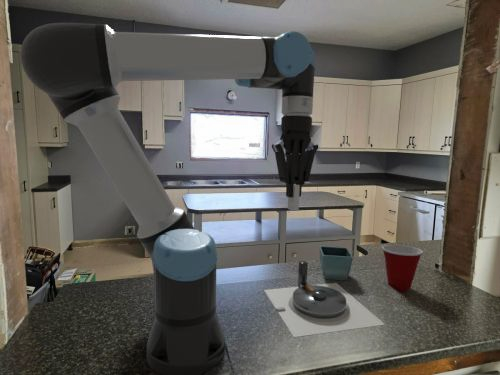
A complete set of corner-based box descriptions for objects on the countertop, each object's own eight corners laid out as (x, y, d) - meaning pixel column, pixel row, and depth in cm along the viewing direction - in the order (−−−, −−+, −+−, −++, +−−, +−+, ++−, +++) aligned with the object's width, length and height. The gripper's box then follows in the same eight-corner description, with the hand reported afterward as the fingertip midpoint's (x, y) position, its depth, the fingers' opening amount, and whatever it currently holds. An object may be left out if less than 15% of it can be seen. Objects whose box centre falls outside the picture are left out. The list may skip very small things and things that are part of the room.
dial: (356, 313, 77) (359, 283, 76) (307, 322, 73) (309, 290, 72) (320, 284, 93) (322, 258, 91) (278, 289, 88) (279, 263, 87)
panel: (293, 342, 68) (294, 335, 68) (263, 294, 89) (263, 288, 89) (384, 329, 73) (385, 322, 73) (336, 286, 94) (336, 281, 94)
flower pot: (345, 274, 104) (347, 247, 102) (351, 286, 95) (353, 257, 94) (317, 272, 104) (319, 245, 103) (321, 284, 96) (322, 255, 94)
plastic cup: (405, 278, 101) (408, 241, 99) (427, 295, 90) (431, 253, 89) (371, 279, 100) (374, 242, 98) (390, 296, 89) (394, 254, 87)
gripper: (283, 113, 73) (279, 214, 77) (327, 116, 80) (322, 210, 83) (266, 115, 80) (263, 208, 83) (308, 117, 86) (304, 204, 89)
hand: (293, 209), depth 83 cm, fingers closed
